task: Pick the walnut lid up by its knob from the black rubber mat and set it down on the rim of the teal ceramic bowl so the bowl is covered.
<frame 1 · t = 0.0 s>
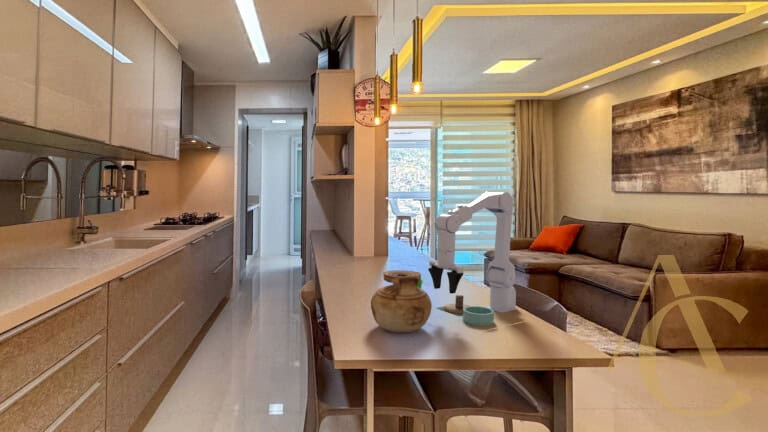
hand: (444, 290, 139), 10 cm above the table, fingers open, 7 cm apart
mat: (459, 310, 152), on the table
bowl: (477, 321, 139), on the table
lid: (459, 309, 152), resting on mat
clay pot: (400, 329, 130), on the table
cup: (409, 310, 151), on the table
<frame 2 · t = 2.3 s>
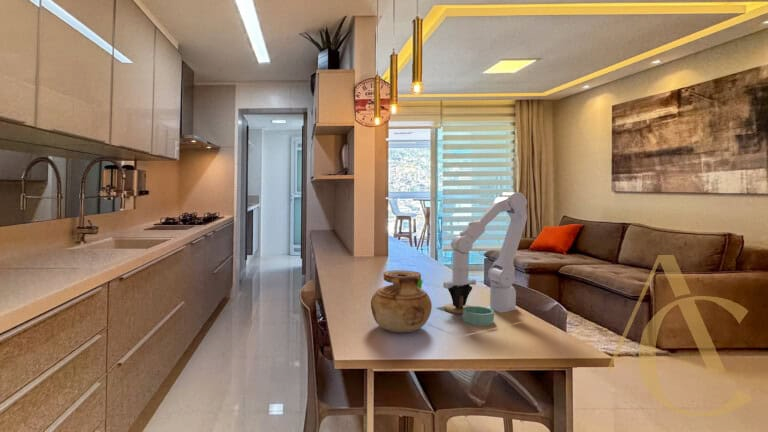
hand: (459, 305, 151), 2 cm above the table, fingers closed on lid, 3 cm apart
lid: (459, 309, 152), resting on mat, touching gripper
everything else where it was.
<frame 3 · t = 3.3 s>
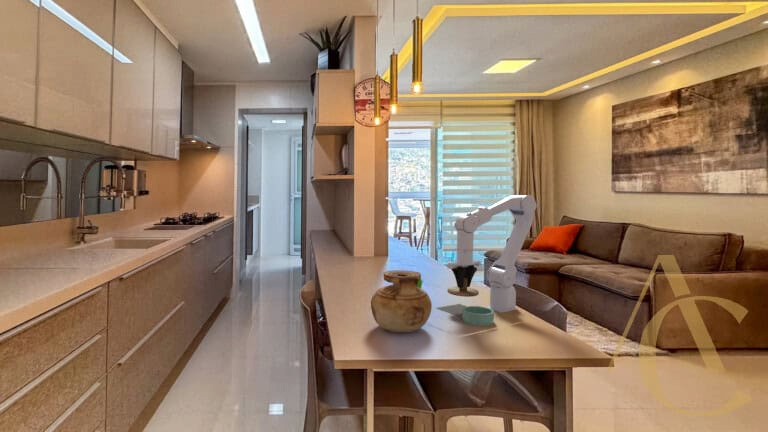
hand: (463, 287, 148), 9 cm above the table, fingers closed on lid, 3 cm apart
lid: (462, 292, 149), point 7 cm above the table, touching gripper
everything else where it was.
when the fingers open (7 cm above the table, at t = 4.7 s): lid stays where it is, resting on bowl.
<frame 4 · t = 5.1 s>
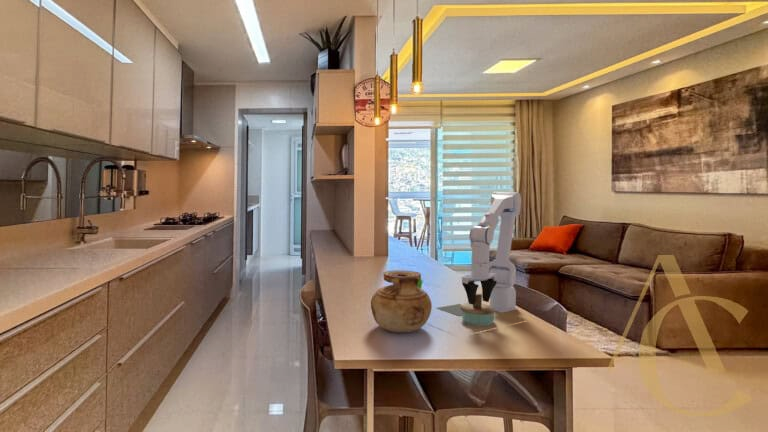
hand: (478, 302, 138), 7 cm above the table, fingers open, 6 cm apart
lid: (477, 309, 139), point 4 cm above the table, touching bowl
everything else where it was.
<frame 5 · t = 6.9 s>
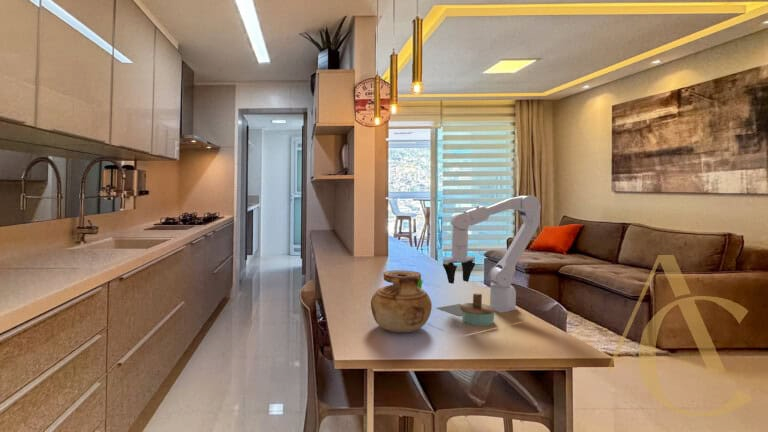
hand: (458, 282, 154), 10 cm above the table, fingers open, 7 cm apart
nothing on the table moved.
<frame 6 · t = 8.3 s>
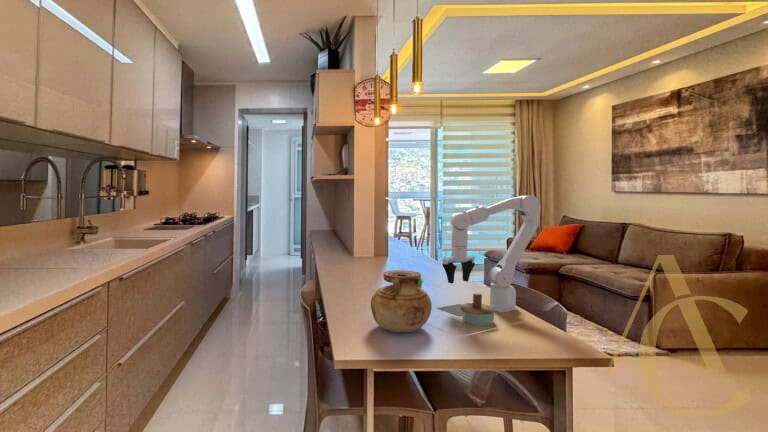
hand: (458, 282, 155), 10 cm above the table, fingers open, 7 cm apart
nothing on the table moved.
at the end: lid 0.6 cm off-centre on the bowl, point 4.0 cm above the bowl's base; lid tilted 0°; the gripper is holding nothing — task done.
